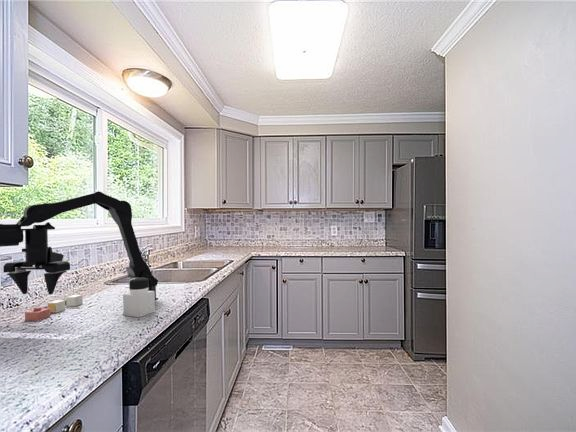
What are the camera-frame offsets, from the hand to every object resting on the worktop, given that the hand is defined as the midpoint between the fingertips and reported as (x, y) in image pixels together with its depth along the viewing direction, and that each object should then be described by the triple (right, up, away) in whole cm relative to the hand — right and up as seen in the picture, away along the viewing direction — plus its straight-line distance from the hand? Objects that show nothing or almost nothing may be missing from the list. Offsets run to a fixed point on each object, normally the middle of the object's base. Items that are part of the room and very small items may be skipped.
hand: (37, 294), depth 107 cm
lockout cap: (0, -9, 0) cm, 9 cm away
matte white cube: (0, -8, +8) cm, 11 cm away
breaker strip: (+2, -9, +12) cm, 15 cm away
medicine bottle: (+29, -9, +8) cm, 31 cm away
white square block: (+2, -8, +16) cm, 18 cm away
